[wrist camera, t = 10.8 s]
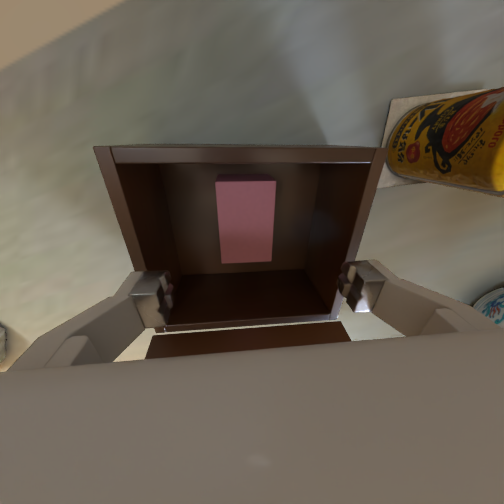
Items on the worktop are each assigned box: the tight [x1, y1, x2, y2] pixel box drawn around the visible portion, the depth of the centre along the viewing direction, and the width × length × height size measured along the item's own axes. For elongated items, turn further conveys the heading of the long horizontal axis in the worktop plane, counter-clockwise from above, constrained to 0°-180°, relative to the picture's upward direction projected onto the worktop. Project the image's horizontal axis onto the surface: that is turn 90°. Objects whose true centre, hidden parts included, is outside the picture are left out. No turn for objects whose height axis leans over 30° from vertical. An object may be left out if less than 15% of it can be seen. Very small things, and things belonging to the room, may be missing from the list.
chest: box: [93, 144, 389, 333], centre depth 17 cm, size 14×16×8 cm
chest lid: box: [145, 321, 351, 359], centre depth 12 cm, size 14×16×4 cm
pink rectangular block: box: [215, 174, 276, 264], centre depth 18 cm, size 7×4×4 cm, turn 0°
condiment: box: [377, 87, 504, 198], centre depth 13 cm, size 7×8×12 cm
